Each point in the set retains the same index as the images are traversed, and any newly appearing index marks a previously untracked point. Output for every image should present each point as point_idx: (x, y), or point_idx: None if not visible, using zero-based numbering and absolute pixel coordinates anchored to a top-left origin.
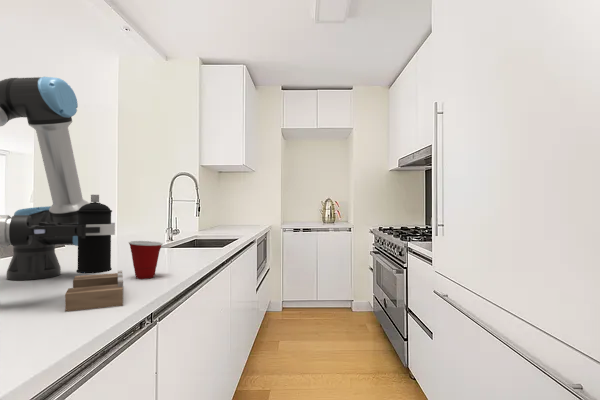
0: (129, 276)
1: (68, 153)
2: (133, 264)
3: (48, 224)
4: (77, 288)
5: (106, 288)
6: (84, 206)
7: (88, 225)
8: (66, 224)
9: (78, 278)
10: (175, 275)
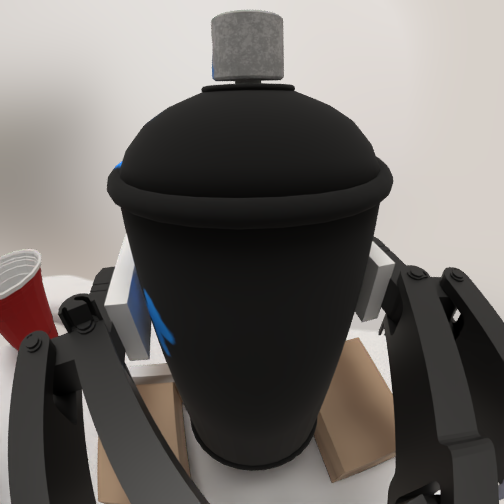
0: (11, 374)
1: None
2: (20, 343)
3: (492, 500)
4: (350, 445)
5: (352, 372)
6: (349, 129)
7: (384, 259)
8: (179, 471)
9: None
10: (64, 299)
